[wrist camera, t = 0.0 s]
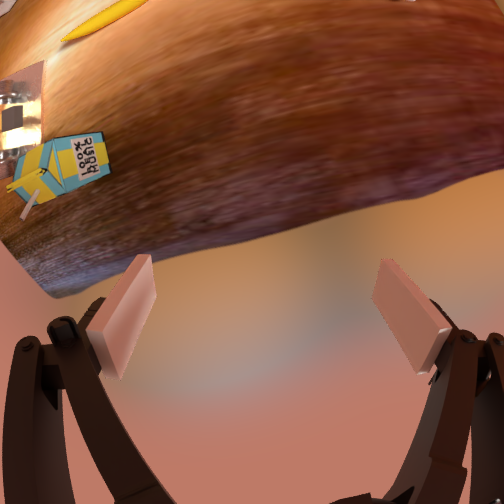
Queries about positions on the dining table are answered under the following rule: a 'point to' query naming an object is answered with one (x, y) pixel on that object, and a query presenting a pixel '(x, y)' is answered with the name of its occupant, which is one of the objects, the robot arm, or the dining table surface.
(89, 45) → the dining table surface
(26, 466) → the robot arm
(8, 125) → the lever
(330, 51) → the dining table surface
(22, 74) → the valve body
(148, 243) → the dining table surface
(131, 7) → the banana
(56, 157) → the carton
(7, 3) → the wineglass
